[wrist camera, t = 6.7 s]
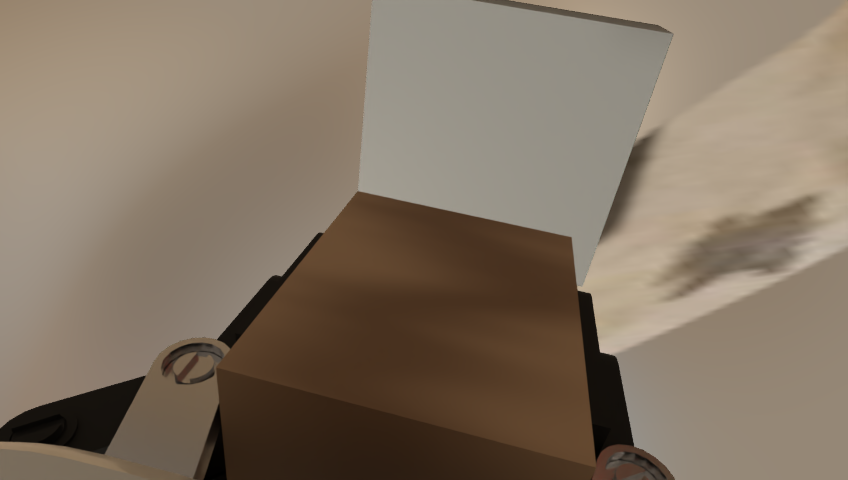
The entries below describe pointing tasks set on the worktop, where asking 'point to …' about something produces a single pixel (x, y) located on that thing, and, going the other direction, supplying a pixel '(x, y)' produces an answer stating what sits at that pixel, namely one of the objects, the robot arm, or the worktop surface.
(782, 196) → the worktop surface
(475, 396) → the walnut block
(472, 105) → the base slab
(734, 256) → the worktop surface
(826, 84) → the worktop surface
